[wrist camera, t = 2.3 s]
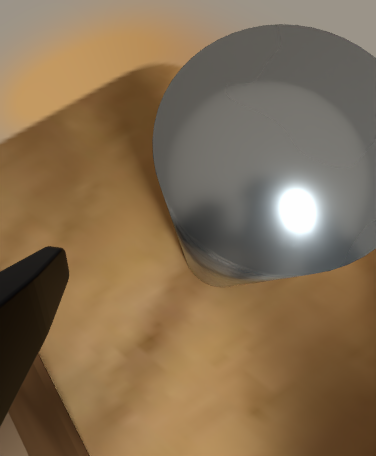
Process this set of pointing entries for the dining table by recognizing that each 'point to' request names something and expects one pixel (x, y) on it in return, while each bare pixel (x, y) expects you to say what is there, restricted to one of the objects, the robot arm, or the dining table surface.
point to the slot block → (39, 420)
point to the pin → (270, 155)
